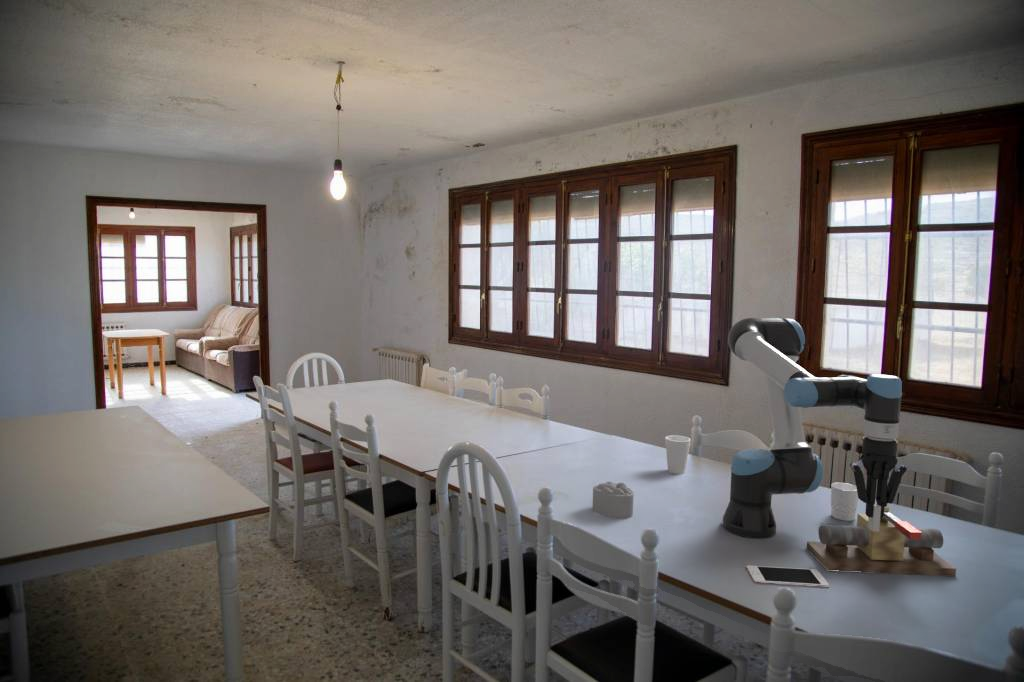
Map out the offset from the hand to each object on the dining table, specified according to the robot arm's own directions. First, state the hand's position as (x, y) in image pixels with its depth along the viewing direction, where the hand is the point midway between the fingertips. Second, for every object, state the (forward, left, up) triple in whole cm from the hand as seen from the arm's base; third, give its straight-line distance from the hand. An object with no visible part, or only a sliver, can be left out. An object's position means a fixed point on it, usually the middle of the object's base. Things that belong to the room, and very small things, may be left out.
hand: (873, 529), depth 163 cm
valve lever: (+7, +3, -1) cm, 8 cm away
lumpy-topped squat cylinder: (-60, +41, -13) cm, 74 cm away
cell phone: (-21, -1, -14) cm, 25 cm away
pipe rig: (+7, +10, -13) cm, 18 cm away
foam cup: (-32, +84, -13) cm, 91 cm away
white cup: (+12, +42, -13) cm, 46 cm away
